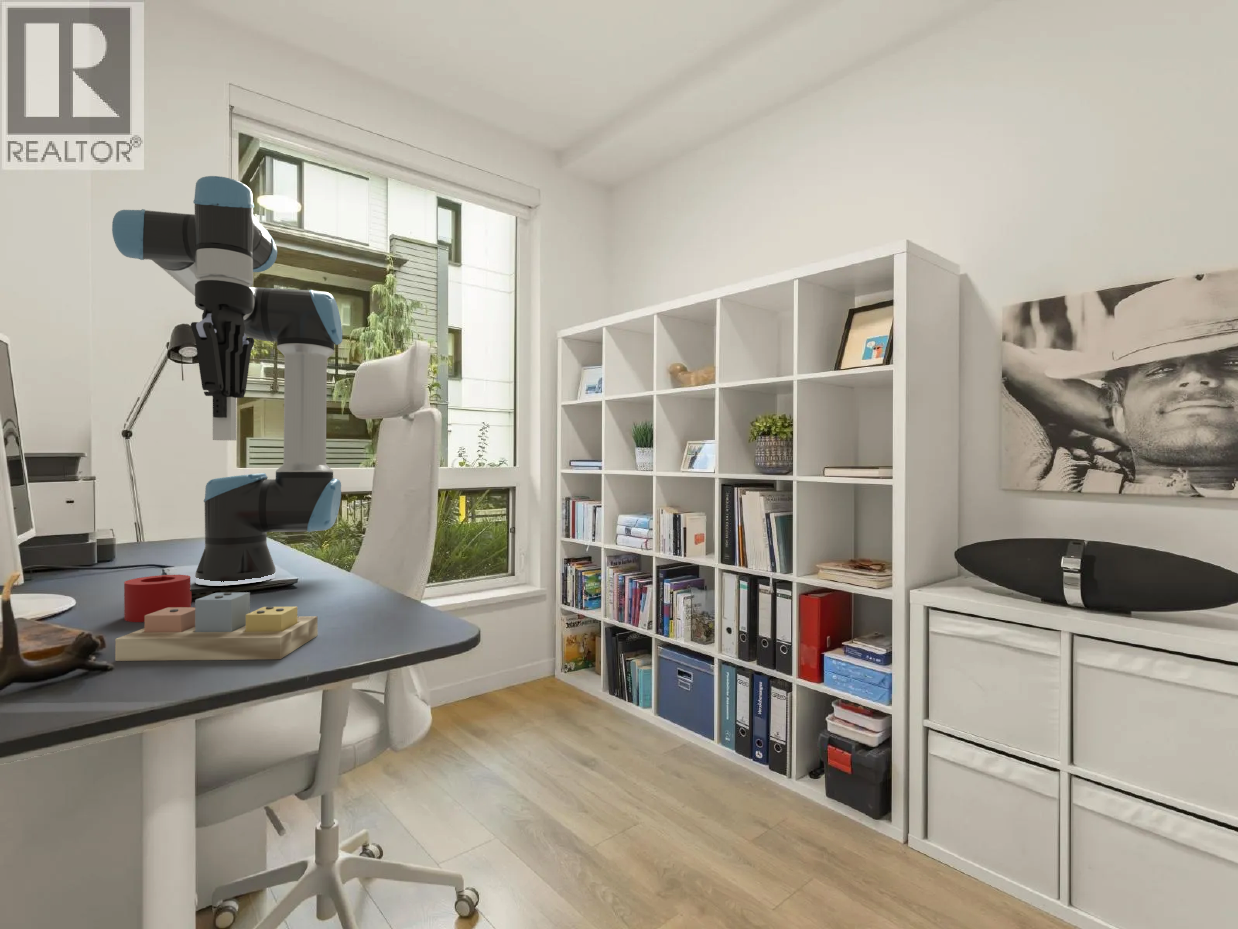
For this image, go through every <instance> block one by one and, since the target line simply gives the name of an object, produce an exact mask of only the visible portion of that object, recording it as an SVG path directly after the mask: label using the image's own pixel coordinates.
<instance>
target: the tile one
mask: <svg viewBox="0 0 1238 929" xmlns="http://www.w3.org/2000/svg"><path fill="white" fill-rule="evenodd" d="M193 627H195V606H194V607H193V606H191V607H168V608H165V609H162V610H159V611H156V612H153V613H150V614H147V615H145V622H144V628H145V633H146V632H183V631H186V630H188V629H190V628H193Z"/></svg>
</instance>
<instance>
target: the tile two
mask: <svg viewBox="0 0 1238 929" xmlns="http://www.w3.org/2000/svg"><path fill="white" fill-rule="evenodd" d="M194 601H195V604H194V607H195V632H233V631H235V630H237V629H239V628H241V627H243V626H245V625H246V614H248V613H251V592H250V591H249V592H230V591H229V592H215V593H211V594H208V595H206V596H202V597H199V598H196V599H194Z"/></svg>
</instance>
